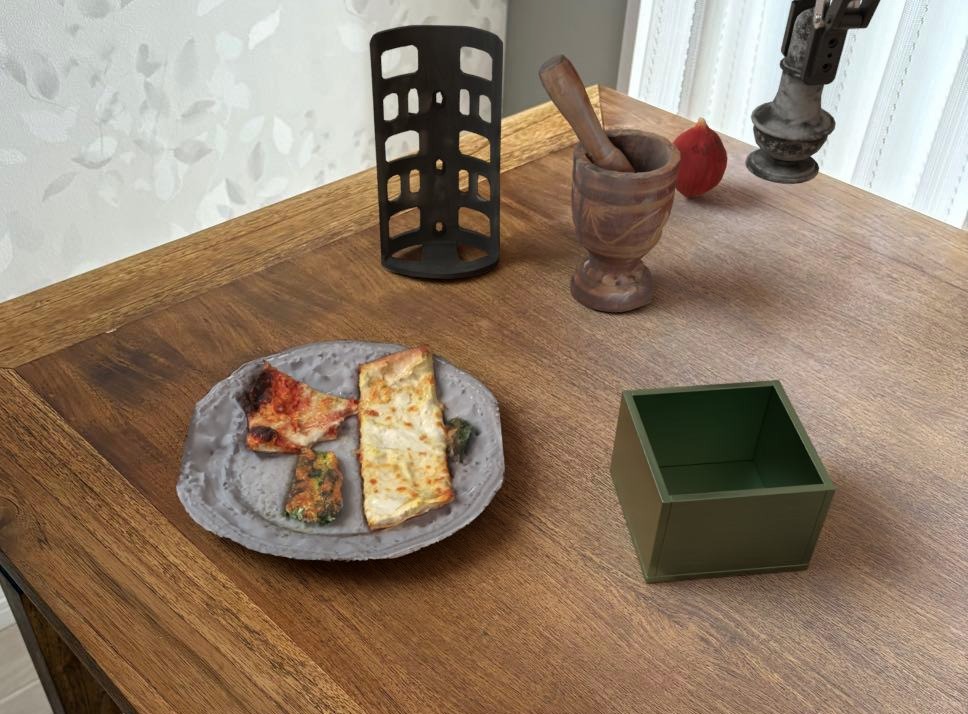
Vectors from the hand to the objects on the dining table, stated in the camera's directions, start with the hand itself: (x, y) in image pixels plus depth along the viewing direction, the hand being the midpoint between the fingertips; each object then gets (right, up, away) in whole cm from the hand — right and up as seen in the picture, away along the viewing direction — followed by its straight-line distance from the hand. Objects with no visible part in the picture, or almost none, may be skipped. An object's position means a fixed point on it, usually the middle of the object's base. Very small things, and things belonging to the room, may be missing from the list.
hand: (806, 68), depth 76 cm
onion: (0, +1, +34) cm, 34 cm away
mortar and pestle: (-11, -10, +22) cm, 27 cm away
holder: (-25, -6, +26) cm, 37 cm away
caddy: (-6, -31, +2) cm, 32 cm away
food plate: (-32, -27, +7) cm, 42 cm away
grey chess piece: (0, -5, +5) cm, 7 cm away
